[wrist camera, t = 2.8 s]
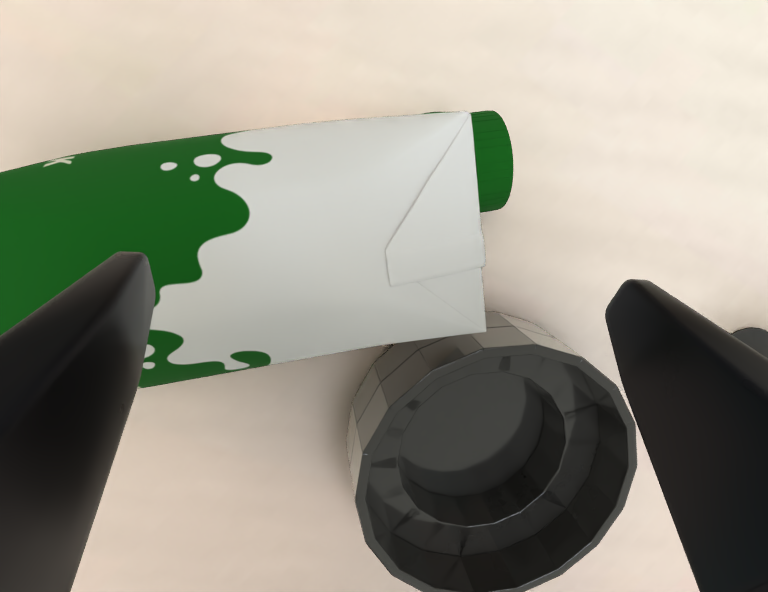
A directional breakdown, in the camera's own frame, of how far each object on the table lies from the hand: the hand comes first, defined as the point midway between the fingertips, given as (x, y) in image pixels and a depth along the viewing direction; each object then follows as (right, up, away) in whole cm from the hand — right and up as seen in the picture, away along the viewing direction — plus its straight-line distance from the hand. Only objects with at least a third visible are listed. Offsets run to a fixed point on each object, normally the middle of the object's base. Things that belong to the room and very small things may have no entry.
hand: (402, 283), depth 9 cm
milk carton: (-15, 0, +9) cm, 18 cm away
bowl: (+4, -8, +19) cm, 21 cm away
